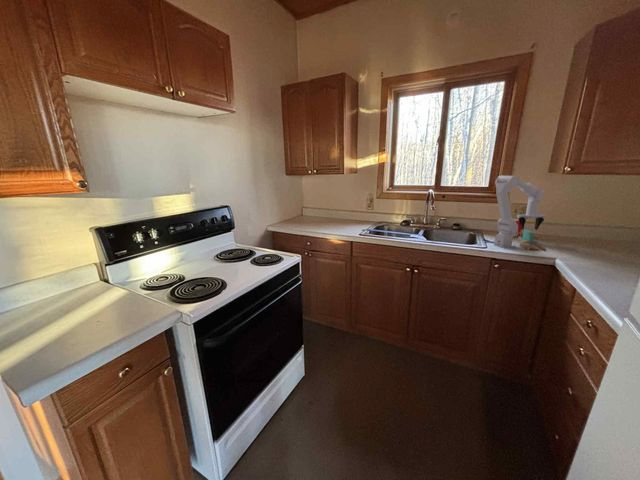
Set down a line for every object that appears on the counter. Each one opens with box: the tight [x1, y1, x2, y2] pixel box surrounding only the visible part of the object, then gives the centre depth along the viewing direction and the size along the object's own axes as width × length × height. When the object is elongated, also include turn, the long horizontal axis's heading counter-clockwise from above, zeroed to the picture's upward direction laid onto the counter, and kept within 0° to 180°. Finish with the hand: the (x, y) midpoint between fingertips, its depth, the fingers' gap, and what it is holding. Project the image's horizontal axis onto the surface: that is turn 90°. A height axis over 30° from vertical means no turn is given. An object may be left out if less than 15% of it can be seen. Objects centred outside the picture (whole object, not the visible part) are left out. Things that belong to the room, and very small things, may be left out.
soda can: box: [513, 218, 523, 238], centre depth 192 cm, size 7×7×12 cm
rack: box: [519, 243, 547, 252], centre depth 162 cm, size 10×10×2 cm
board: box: [522, 229, 535, 241], centre depth 173 cm, size 2×9×7 cm, turn 166°
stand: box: [517, 236, 538, 246], centre depth 174 cm, size 6×12×3 cm, turn 164°
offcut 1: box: [519, 240, 527, 249], centre depth 165 cm, size 2×4×4 cm, turn 164°
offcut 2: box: [522, 243, 531, 251], centre depth 161 cm, size 2×4×3 cm, turn 164°
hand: (529, 229), depth 172 cm, fingers open, 7 cm apart
